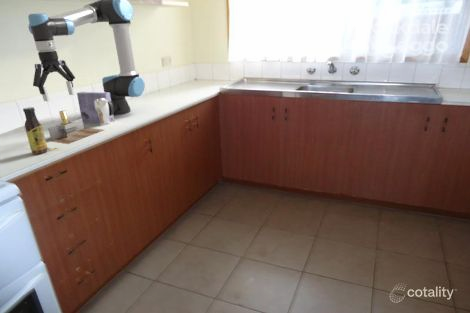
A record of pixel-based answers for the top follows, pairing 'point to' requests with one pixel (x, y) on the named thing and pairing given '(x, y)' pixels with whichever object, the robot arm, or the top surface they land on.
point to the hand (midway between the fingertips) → (59, 97)
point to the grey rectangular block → (59, 131)
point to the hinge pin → (63, 117)
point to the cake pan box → (88, 105)
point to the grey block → (71, 124)
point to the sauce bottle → (34, 132)
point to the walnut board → (77, 136)
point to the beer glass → (102, 110)
